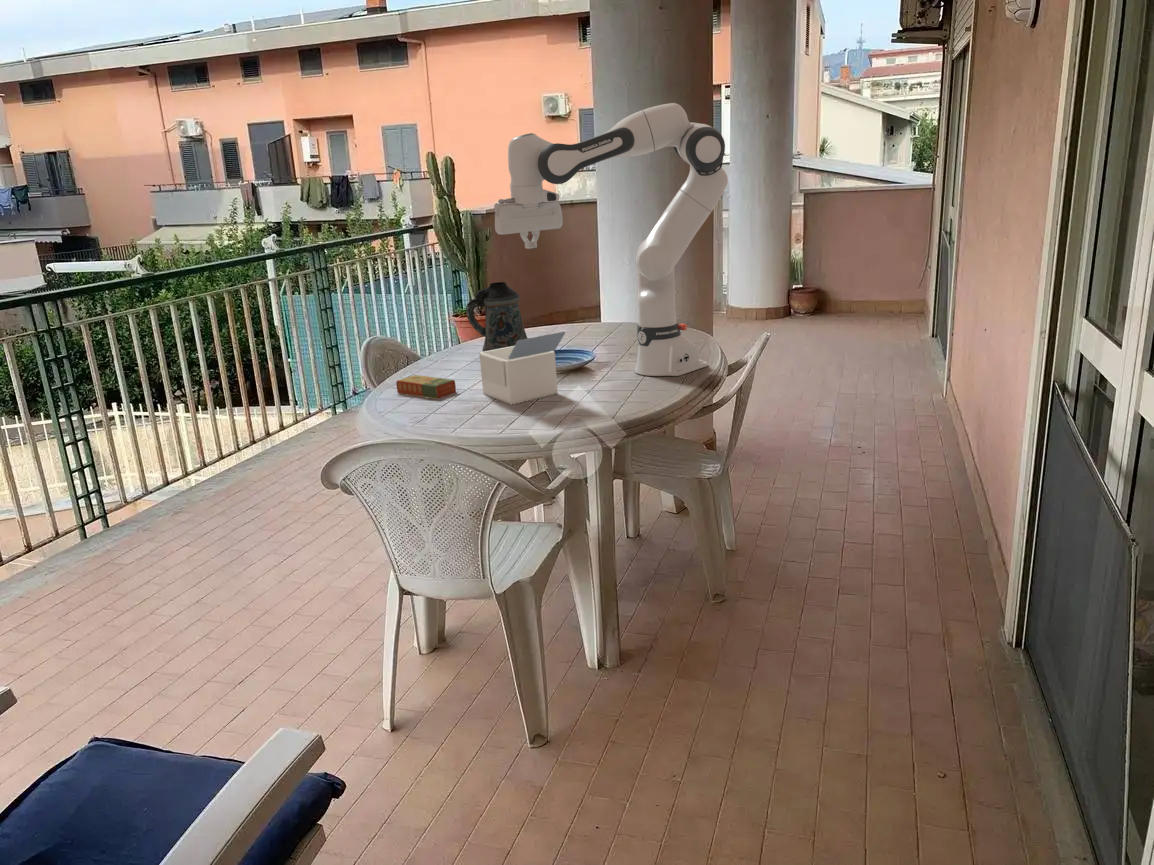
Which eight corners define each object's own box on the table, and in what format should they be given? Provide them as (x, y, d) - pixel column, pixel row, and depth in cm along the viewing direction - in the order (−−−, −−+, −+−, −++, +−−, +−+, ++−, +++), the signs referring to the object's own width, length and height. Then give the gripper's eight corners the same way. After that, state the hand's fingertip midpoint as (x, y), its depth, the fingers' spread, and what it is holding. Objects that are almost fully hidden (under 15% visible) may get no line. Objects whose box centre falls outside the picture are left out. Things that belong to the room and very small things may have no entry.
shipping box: (529, 383, 244) (526, 343, 240) (559, 393, 230) (556, 351, 227) (480, 393, 235) (476, 352, 232) (508, 405, 222) (504, 361, 218)
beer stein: (541, 356, 277) (535, 281, 270) (492, 366, 267) (484, 289, 259) (514, 349, 290) (508, 278, 282) (466, 359, 279) (458, 285, 272)
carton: (417, 387, 248) (415, 373, 247) (457, 393, 239) (455, 378, 238) (397, 394, 242) (395, 380, 240) (437, 400, 233) (435, 385, 232)
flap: (564, 331, 219) (565, 333, 219) (554, 348, 226) (555, 350, 225) (517, 340, 212) (518, 341, 212) (508, 357, 218) (509, 359, 218)
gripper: (499, 199, 218) (504, 252, 223) (564, 194, 229) (567, 244, 233) (488, 199, 223) (492, 251, 228) (551, 194, 234) (555, 243, 238)
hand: (531, 248), depth 230 cm, fingers closed
